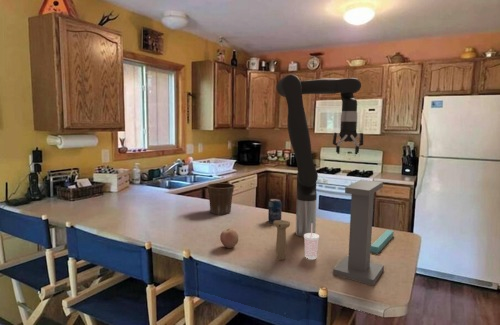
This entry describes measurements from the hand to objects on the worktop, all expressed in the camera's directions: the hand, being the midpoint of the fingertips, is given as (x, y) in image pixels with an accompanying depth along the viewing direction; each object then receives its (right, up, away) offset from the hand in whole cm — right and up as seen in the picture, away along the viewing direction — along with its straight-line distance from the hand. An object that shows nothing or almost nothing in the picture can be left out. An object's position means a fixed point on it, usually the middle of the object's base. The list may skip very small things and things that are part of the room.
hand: (347, 153), depth 163 cm
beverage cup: (-23, -42, -30) cm, 57 cm away
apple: (-57, -41, -20) cm, 73 cm away
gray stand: (-7, -44, -41) cm, 61 cm away
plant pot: (-65, -34, +33) cm, 81 cm away
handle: (-36, -43, -32) cm, 64 cm away
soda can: (-34, -36, +16) cm, 53 cm away
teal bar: (+12, -41, -15) cm, 45 cm away
